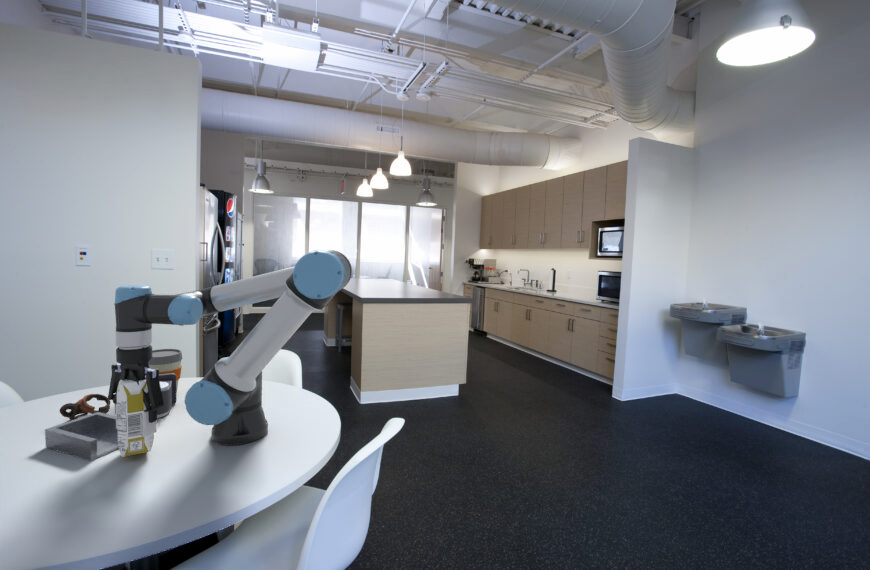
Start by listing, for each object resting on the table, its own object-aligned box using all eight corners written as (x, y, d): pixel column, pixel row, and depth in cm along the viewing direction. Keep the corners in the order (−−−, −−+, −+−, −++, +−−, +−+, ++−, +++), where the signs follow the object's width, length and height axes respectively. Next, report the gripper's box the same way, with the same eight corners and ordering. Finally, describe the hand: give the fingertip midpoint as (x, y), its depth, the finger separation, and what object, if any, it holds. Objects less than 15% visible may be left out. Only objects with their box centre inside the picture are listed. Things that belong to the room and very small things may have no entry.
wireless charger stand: (135, 423, 128) (134, 390, 127) (138, 406, 139) (137, 375, 138) (177, 417, 134) (176, 385, 133) (176, 401, 145) (176, 371, 144)
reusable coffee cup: (179, 385, 162) (179, 347, 161) (185, 394, 152) (185, 354, 151) (140, 391, 154) (139, 351, 153) (143, 401, 144) (143, 359, 143)
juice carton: (117, 459, 103) (116, 385, 102) (118, 445, 110) (117, 375, 108) (154, 452, 108) (153, 380, 106) (153, 439, 115) (151, 371, 113)
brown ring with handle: (97, 410, 136) (109, 390, 135) (105, 431, 131) (117, 410, 131) (50, 412, 126) (63, 391, 125) (57, 434, 121) (70, 412, 120)
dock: (141, 439, 117) (141, 422, 117) (90, 460, 105) (90, 441, 105) (98, 428, 123) (98, 411, 122) (45, 447, 111) (45, 429, 110)
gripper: (180, 347, 107) (181, 432, 109) (119, 338, 114) (120, 417, 115) (152, 354, 99) (153, 444, 101) (88, 343, 106) (91, 428, 108)
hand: (136, 430), depth 108 cm, fingers closed on juice carton, 9 cm apart
